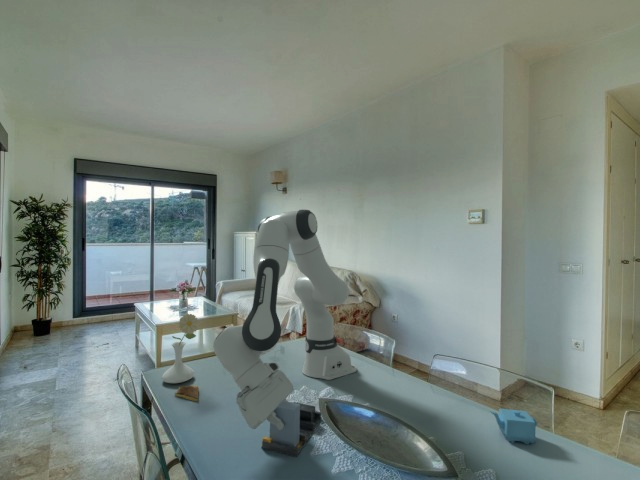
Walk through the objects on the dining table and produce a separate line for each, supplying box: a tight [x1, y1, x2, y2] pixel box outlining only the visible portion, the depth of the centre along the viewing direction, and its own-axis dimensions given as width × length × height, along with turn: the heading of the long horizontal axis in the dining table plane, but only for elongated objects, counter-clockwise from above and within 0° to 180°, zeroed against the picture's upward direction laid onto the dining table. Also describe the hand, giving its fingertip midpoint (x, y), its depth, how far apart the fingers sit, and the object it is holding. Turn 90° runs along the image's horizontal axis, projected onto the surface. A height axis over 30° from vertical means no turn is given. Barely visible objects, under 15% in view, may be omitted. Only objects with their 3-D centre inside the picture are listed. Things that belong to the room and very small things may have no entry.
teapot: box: [490, 408, 538, 445], centre depth 94 cm, size 12×6×8 cm, turn 79°
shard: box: [174, 385, 200, 402], centre depth 116 cm, size 11×8×2 cm
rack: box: [261, 401, 323, 458], centre depth 95 cm, size 10×19×4 cm, turn 160°
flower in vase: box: [161, 313, 200, 384], centre depth 129 cm, size 13×11×25 cm
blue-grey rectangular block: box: [269, 401, 300, 446], centre depth 90 cm, size 7×4×10 cm, turn 70°
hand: (287, 422), depth 89 cm, fingers closed on blue-grey rectangular block, 3 cm apart
